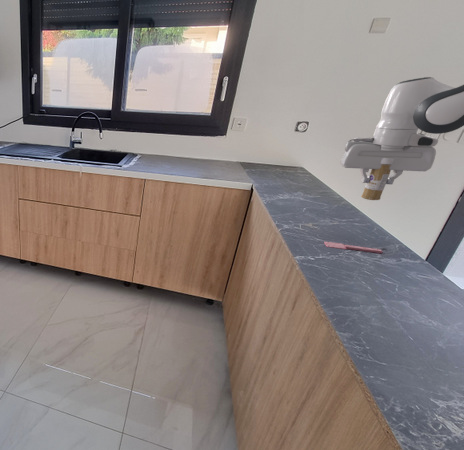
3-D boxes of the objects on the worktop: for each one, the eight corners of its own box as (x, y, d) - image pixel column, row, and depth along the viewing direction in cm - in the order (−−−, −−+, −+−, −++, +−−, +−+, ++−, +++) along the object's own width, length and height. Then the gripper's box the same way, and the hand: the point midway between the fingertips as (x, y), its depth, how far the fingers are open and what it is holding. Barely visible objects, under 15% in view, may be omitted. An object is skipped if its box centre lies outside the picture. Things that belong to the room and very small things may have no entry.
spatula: (377, 249, 98) (378, 247, 98) (383, 255, 95) (384, 253, 95) (323, 242, 104) (324, 240, 104) (327, 247, 101) (327, 245, 100)
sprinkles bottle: (357, 197, 101) (371, 155, 96) (369, 195, 102) (384, 154, 97) (371, 201, 97) (387, 158, 92) (384, 200, 98) (400, 157, 93)
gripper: (351, 138, 94) (337, 183, 99) (446, 140, 85) (425, 188, 91) (345, 136, 99) (332, 178, 104) (433, 137, 91) (414, 183, 96)
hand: (376, 183), depth 98 cm, fingers closed on sprinkles bottle, 4 cm apart
